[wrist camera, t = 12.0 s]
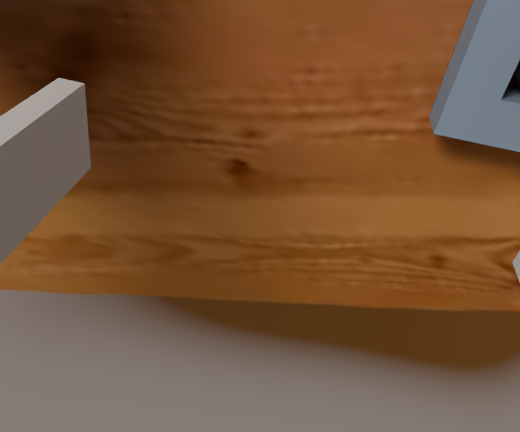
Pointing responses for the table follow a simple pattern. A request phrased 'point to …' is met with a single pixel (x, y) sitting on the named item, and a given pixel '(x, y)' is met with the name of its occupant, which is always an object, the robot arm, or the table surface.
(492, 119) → the socket block
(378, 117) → the table surface
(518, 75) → the peg
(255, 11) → the table surface
